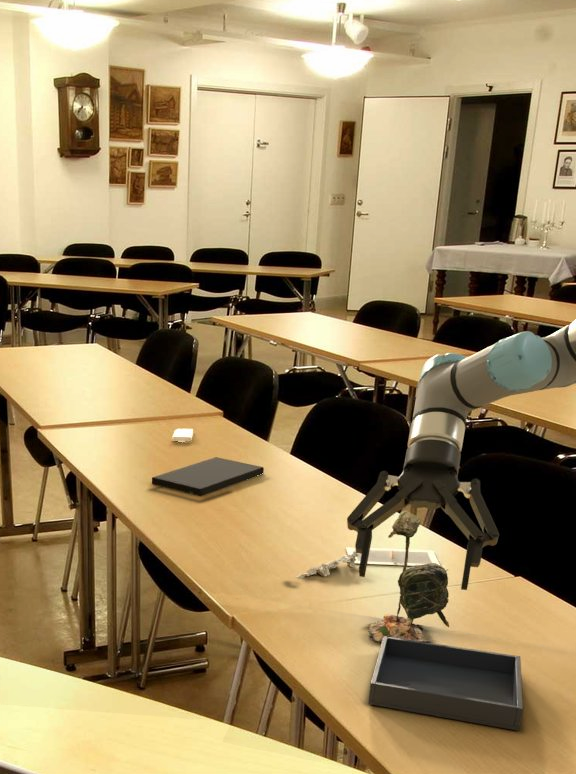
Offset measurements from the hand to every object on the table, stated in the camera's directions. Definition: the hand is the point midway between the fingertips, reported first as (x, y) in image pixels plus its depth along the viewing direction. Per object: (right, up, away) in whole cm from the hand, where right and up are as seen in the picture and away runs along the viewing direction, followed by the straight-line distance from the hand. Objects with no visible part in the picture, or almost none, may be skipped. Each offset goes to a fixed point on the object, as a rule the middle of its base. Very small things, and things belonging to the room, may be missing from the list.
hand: (412, 579), depth 128 cm
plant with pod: (+1, -9, +5) cm, 10 cm away
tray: (0, -15, -10) cm, 17 cm away
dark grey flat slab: (-14, +23, +83) cm, 88 cm away
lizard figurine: (-4, +1, +28) cm, 28 cm away
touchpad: (+10, +3, +34) cm, 36 cm away
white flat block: (-16, +35, +112) cm, 118 cm away
